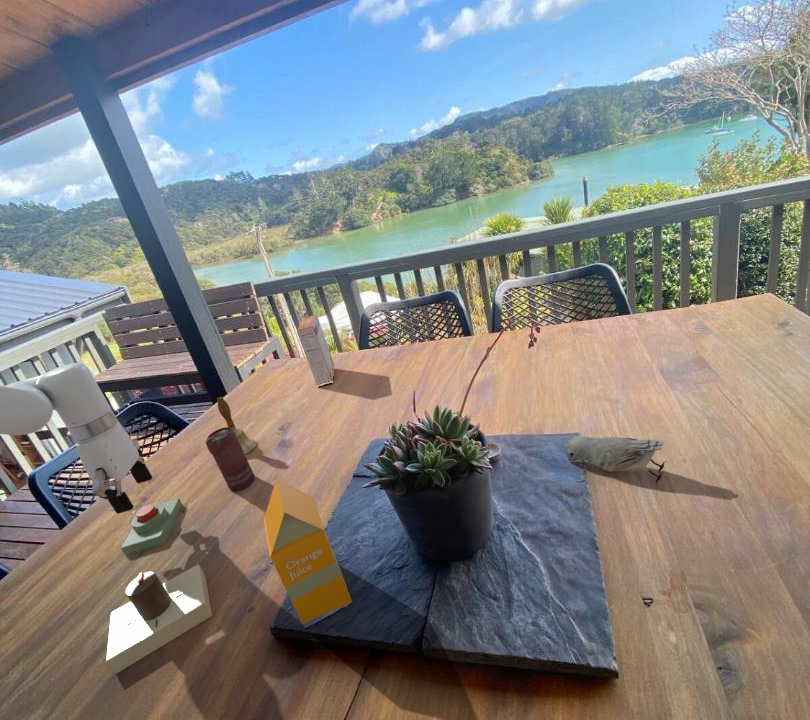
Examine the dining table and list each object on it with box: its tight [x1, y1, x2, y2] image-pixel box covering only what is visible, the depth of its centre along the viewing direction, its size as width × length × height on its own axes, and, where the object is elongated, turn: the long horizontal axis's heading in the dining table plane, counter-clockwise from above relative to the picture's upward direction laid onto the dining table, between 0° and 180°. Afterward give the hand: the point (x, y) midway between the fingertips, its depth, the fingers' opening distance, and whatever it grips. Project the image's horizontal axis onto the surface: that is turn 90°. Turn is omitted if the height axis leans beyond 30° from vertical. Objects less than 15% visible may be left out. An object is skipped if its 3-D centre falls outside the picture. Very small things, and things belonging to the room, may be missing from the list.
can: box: [205, 426, 255, 492], centre depth 99 cm, size 6×6×14 cm
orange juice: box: [263, 478, 353, 625], centre depth 64 cm, size 8×9×20 cm
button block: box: [120, 497, 184, 556], centre depth 93 cm, size 12×8×4 cm, turn 10°
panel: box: [105, 564, 213, 675], centre depth 70 cm, size 14×10×3 cm
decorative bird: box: [565, 435, 667, 486], centre depth 76 cm, size 5×16×8 cm, turn 55°
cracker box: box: [296, 314, 335, 386], centre depth 146 cm, size 14×6×21 cm, turn 6°
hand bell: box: [216, 396, 258, 456], centre depth 114 cm, size 8×8×16 cm
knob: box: [124, 570, 171, 620], centre depth 68 cm, size 4×4×6 cm
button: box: [135, 503, 157, 523], centre depth 92 cm, size 4×4×2 cm
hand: (135, 495), depth 90 cm, fingers open, 9 cm apart
